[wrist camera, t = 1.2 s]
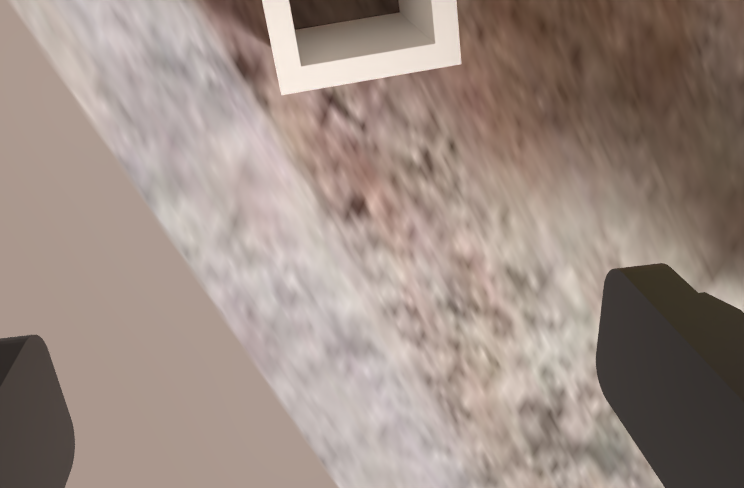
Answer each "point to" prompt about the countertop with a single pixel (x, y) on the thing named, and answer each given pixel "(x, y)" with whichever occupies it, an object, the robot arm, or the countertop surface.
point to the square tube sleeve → (362, 45)
